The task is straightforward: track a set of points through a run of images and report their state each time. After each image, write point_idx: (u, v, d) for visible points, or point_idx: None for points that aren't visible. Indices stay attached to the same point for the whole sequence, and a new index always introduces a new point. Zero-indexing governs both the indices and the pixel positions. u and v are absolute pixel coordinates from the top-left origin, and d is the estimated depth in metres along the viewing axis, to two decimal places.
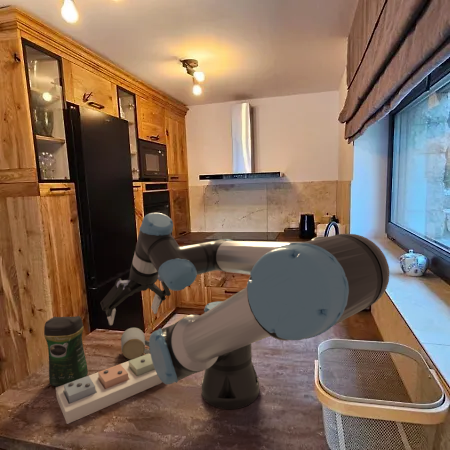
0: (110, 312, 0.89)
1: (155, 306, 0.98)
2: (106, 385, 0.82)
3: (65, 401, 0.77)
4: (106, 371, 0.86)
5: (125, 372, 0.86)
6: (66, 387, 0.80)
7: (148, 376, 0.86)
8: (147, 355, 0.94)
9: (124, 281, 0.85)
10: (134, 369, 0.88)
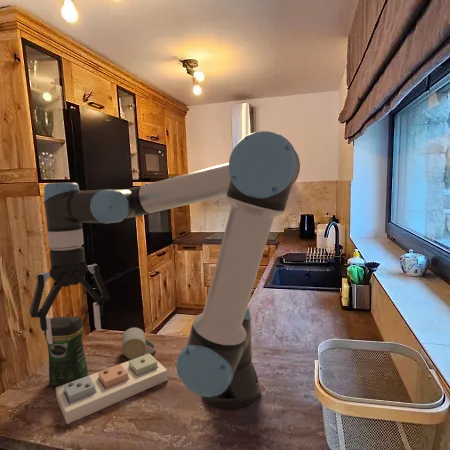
0: (44, 323, 0.75)
1: (96, 318, 0.82)
2: (106, 385, 0.82)
3: (65, 401, 0.77)
4: (106, 371, 0.86)
5: (125, 372, 0.86)
6: (66, 387, 0.80)
7: (148, 376, 0.86)
8: (147, 355, 0.94)
9: (44, 273, 0.74)
10: (134, 369, 0.88)
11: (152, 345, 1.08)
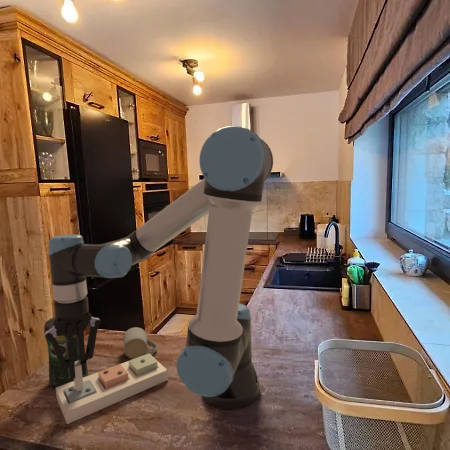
0: (73, 371, 0.79)
1: None
2: (106, 385, 0.82)
3: (65, 401, 0.77)
4: (106, 371, 0.86)
5: (125, 372, 0.86)
6: (66, 392, 0.80)
7: (148, 376, 0.86)
8: (147, 355, 0.94)
9: (50, 329, 0.76)
10: (134, 369, 0.88)
11: (153, 345, 1.08)
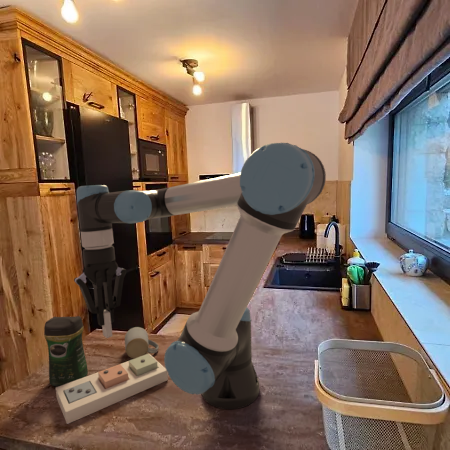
0: (102, 318, 0.82)
1: None
2: (106, 385, 0.82)
3: (65, 401, 0.77)
4: (106, 371, 0.86)
5: (125, 372, 0.86)
6: (67, 393, 0.80)
7: (148, 376, 0.86)
8: (147, 355, 0.94)
9: (80, 276, 0.79)
10: (134, 369, 0.88)
11: (155, 345, 1.08)
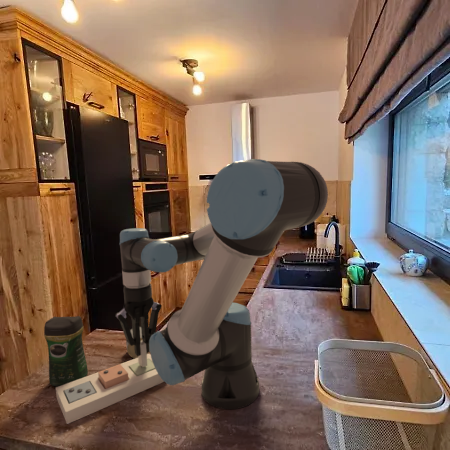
0: (139, 349, 0.89)
1: None
2: (106, 385, 0.82)
3: (65, 401, 0.77)
4: (106, 371, 0.86)
5: (125, 372, 0.86)
6: (67, 393, 0.80)
7: (148, 376, 0.86)
8: (147, 360, 0.94)
9: (121, 311, 0.86)
10: (135, 374, 0.89)
11: None
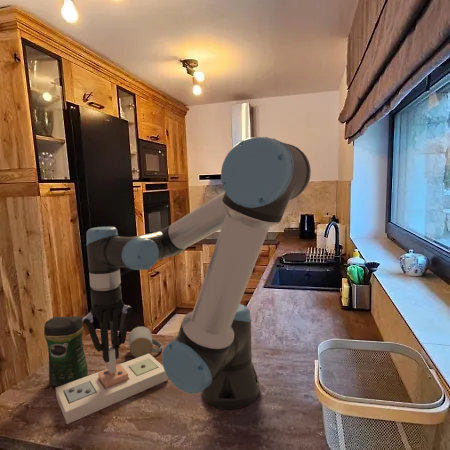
0: (107, 355, 0.84)
1: None
2: (106, 385, 0.82)
3: (65, 401, 0.77)
4: (106, 371, 0.86)
5: (125, 372, 0.86)
6: (67, 393, 0.80)
7: (148, 376, 0.86)
8: (147, 360, 0.94)
9: (87, 315, 0.81)
10: (135, 374, 0.89)
11: (158, 344, 1.08)
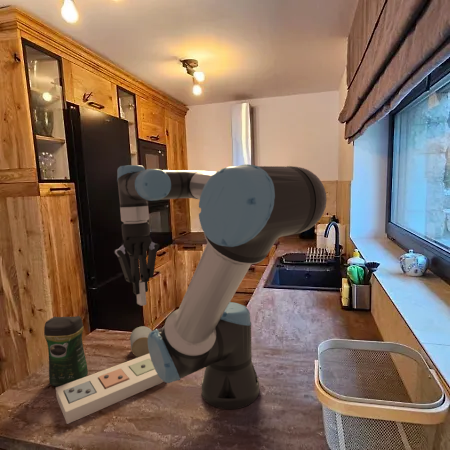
0: (138, 287, 0.90)
1: None
2: None
3: (65, 401, 0.77)
4: (106, 376, 0.86)
5: (125, 377, 0.86)
6: (67, 393, 0.80)
7: (148, 376, 0.86)
8: (147, 360, 0.94)
9: (119, 248, 0.86)
10: (135, 374, 0.89)
11: None
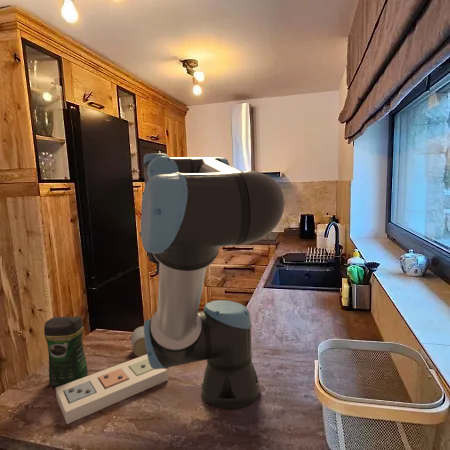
0: None
1: None
2: None
3: (65, 401, 0.77)
4: (106, 376, 0.86)
5: (125, 377, 0.86)
6: (67, 393, 0.80)
7: (148, 376, 0.86)
8: (147, 360, 0.94)
9: None
10: (135, 374, 0.89)
11: None
